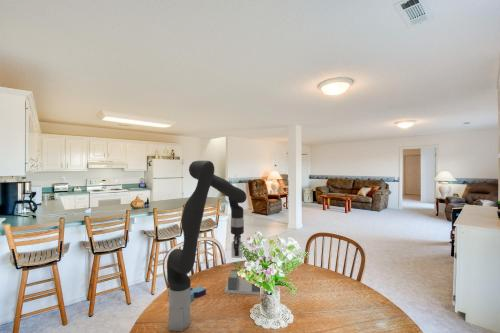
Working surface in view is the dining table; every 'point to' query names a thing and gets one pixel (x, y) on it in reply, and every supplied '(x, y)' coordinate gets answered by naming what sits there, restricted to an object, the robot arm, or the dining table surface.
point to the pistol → (196, 292)
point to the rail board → (240, 285)
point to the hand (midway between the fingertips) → (237, 254)
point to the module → (234, 251)
